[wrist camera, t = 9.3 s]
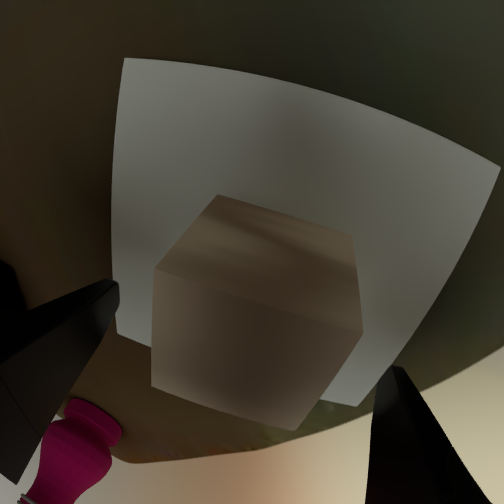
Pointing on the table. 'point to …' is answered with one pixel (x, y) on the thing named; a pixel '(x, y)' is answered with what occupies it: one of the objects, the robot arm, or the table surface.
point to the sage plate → (291, 191)
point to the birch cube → (254, 312)
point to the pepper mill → (73, 454)
